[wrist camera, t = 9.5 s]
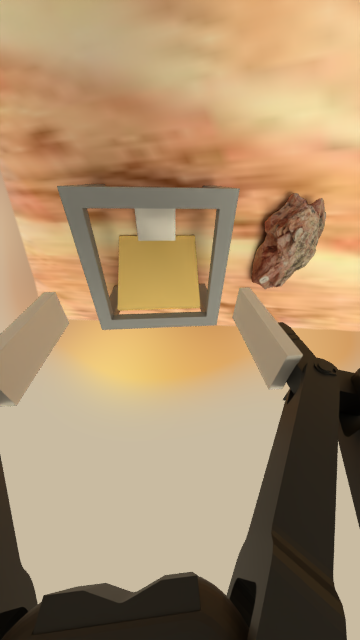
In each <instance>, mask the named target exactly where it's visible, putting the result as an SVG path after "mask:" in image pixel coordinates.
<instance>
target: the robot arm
mask: <svg viewBox="0 0 360 640" xmlns="http://www.w3.org/2000/svg"><path fill="white" fill-rule="evenodd" d="M233 319H234V321H235V323H236V325H237V327H238V329H239V331H240V333H241V335H242V337H243V339H244V341H245V343H246V345H247V347H248V349H249V351H250V353H251V355H252V357H253V359H254V361H255V363H256V365H257V367H258V369H259V371H260V373H261V375H262V377H263V379H264V381H265V383H266V385H267V387H268V389H282V388H283V387H284V385H285V383H286V382H287V384H288V386H289V387H290V389H289V391H288V393H287V394H286V395H285V397H284V398H283V400H285V404H284V408H283V411H282V415H281V418H280V422H279V425H278V429H277V432H276V436H275V439H274V443H273V446H272V450H271V454H270V457H269V461H268V464H267V468H266V471H265V475H264V478H263V482H262V485H261V489H260V493H259V496H258V500H257V503H256V507H255V510H254V514H253V518H252V521H251V524H250V528H249V532H248V535H247V538H246V540H245V542H244V544H243V546H242V549H241V551H240V553H239V556H238V559H237V562H236V565H235V569H234V572H233V575H232V579H231V582H230V586H229V589H228V593H227V596H226V595H225V594H224V593H223V592H222V591H221V590H220V589H218V588H217V587H216V586H215V585H213V584H212V583H210V582H209V581H207V580H205V579H203V578H202V577H199V576H197V575H196V574H195V573H193V572H187V573H179V574H172V575H165V576H163V577H161V578H160V579H158V580H156V581H154V582H153V583H151V584H149V585H148V586H146V587H144V588H142V589H141V590H139V591H137V592H130V591H127V590H124V589H121V588H119V587H116V586H113V585H110V584H107V583H103V584H95V585H87V586H79V587H74V588H70V589H67V590H63V591H59V592H55V593H51V594H47V595H44V596H43V599H42V602H41V603H40V604H37V599H36V594H35V590H34V586H33V583H32V580H31V578H30V576H29V574H28V573H27V572H26V571H25V570H24V569H23V567H22V565H21V562H20V558H19V552H18V547H17V542H16V536H15V531H14V526H13V520H12V515H11V510H10V505H9V499H8V494H7V488H6V483H5V478H4V472H3V467H2V462H1V456H0V640H347V636H346V621H345V615H344V610H343V606H342V603H341V601H340V599H339V597H338V594H337V592H336V590H335V587H334V582H333V560H334V533H335V507H336V480H337V453H338V442H339V446H340V450H341V454H342V458H343V462H344V466H345V470H346V474H347V478H348V482H349V487H350V490H351V495H352V499H353V503H354V507H355V511H356V515H357V519H358V523H359V527H360V368H359V369H358V370H357V371H356V373H351V372H347V371H341V370H338V369H337V368H336V367H335V366H334V365H333V364H332V363H330V362H328V361H326V360H324V359H320V358H316V357H315V355H313V353H312V352H311V351H310V350H309V348H308V347H307V346H306V345H305V344H304V343H303V341H301V340H300V338H299V337H298V336H297V335H296V333H295V332H294V331H293V330H292V329H291V327H289V326H288V325H286V324H285V323H283V322H280V323H277V321H276V320H275V319H274V318H273V316H272V315H271V314H270V313H269V311H268V310H267V309H266V308H265V306H264V305H263V304H262V303H261V301H260V300H259V299H258V298H257V296H256V295H255V294H254V292H253V291H252V290H251V289H250V288H239V292H238V297H237V301H236V305H235V309H234V314H233ZM68 324H69V322H68V320H67V317H66V315H65V313H64V311H63V308H62V306H61V304H60V302H59V299H58V297H57V295H56V293H55V292H44V293H43V294H42V295H41V296H40V297H38V299H36V300H35V301H34V302H33V303H32V304H31V305H30V306H29V307H28V308H27V309H26V310H25V311H24V312H23V313H22V314H21V315H20V316H19V317H18V318H17V319H16V320H15V321H14V322H13V323H12V324H11V325H10V326H9V327H8V328H6V329H5V331H3V332H2V333H1V334H0V407H2V406H16V405H17V404H18V403H19V401H20V399H21V398H22V396H23V395H24V393H25V392H26V390H27V388H28V387H29V385H30V384H31V382H32V381H33V379H34V377H35V376H36V374H37V373H38V371H39V370H40V368H41V366H42V365H43V363H44V362H45V360H46V359H47V357H48V356H49V354H50V352H51V351H52V349H53V347H54V346H55V345H56V343H57V342H58V340H59V338H60V337H61V335H62V334H63V332H64V331H65V329H66V327H67V326H68Z"/></svg>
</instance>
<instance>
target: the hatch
mask: <svg viewBox="0 0 360 640" xmlns="http://www.w3.org/2000/svg"><path fill="white" fill-rule="evenodd" d="M183 308H200V296H199V283H198V271H197V259H196V246H195V236H175V241H138V236H119V269H118V310H119V311H122V310H153V309H183Z"/></svg>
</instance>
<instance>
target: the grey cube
mask: <svg viewBox="0 0 360 640" xmlns="http://www.w3.org/2000/svg"><path fill="white" fill-rule="evenodd" d="M135 217H136V225H137V234H138V241H175V209H142V208H135Z"/></svg>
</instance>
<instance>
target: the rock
mask: <svg viewBox="0 0 360 640" xmlns="http://www.w3.org/2000/svg"><path fill="white" fill-rule="evenodd" d="M325 219H326V212H325V207H324V200H323V199H322V198H320V199H318V200H316V201H315V202H314V203H312V204H311V205H308V204H307V201H306V200H305V199H304V198H301V197H300V196H299V195H298V194H297V193H293V194H292V195H291V196H290V197H289V199H288V201H287V202H286V203H285V205H284V206H283V207H282V208H281V209H280V210H279V211H277V212H275V213H273V214H272V215H271V216H270V217H269V218H268V219H267V220H266V221H265V232H266V233H267V235H266V238H265V241H264V243H262V244H261V245H260V246H259V248H258V249H257V251H256V254H255V258H254V261H253V272H252V282H253V283H257V284H260V285H261V286H262V287H263V288H264V289H267V288H270V287H279V286H282V285H283V284H284V283H285V281H286V280H287V279H288V278H289V277H290V276H291V275H292V274H293V273H294V271H296V270H299V269H301V268H303V267H305V266H306V264H307V263H308V262H309V260H310V259H311V258H312V257H313V256H314V254H315V251H316V246H317V243H318V239H319V237H320V236H321V234H322V231H323V229H324V226H325Z"/></svg>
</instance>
